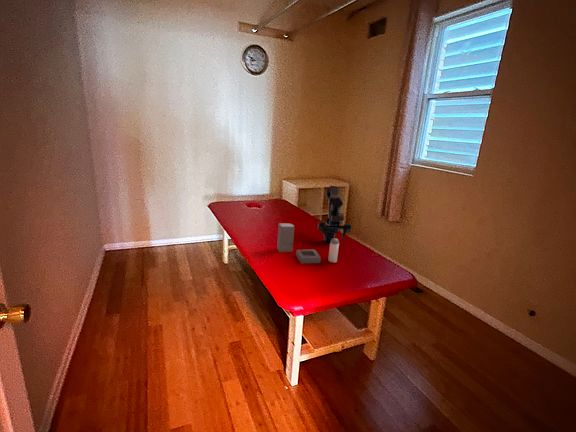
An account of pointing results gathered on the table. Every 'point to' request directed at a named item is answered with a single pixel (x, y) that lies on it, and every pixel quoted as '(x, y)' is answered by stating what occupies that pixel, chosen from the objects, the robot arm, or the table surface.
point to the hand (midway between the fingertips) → (334, 240)
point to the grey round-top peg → (333, 250)
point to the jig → (308, 256)
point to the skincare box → (285, 237)
